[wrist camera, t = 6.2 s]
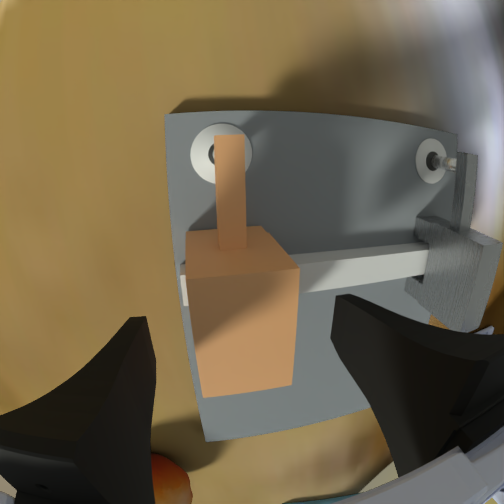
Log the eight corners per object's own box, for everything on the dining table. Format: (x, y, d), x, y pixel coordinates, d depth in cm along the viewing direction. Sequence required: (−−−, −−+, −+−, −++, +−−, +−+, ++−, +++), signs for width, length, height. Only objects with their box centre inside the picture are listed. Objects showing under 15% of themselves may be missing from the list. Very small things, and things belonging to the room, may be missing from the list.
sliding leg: (260, 135, 13) (302, 133, 8) (261, 316, 17) (291, 385, 12) (180, 138, 13) (174, 136, 8) (195, 323, 16) (202, 397, 11)
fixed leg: (443, 149, 16) (513, 162, 10) (424, 287, 19) (478, 327, 14) (421, 146, 15) (494, 158, 10) (404, 292, 19) (458, 336, 13)
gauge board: (447, 133, 16) (471, 136, 14) (397, 388, 24) (409, 404, 22) (166, 116, 13) (162, 111, 11) (204, 432, 21) (207, 455, 19)
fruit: (78, 442, 18) (126, 526, 12) (161, 421, 23) (215, 489, 18) (86, 482, 20) (127, 547, 15) (153, 463, 26) (197, 519, 20)
